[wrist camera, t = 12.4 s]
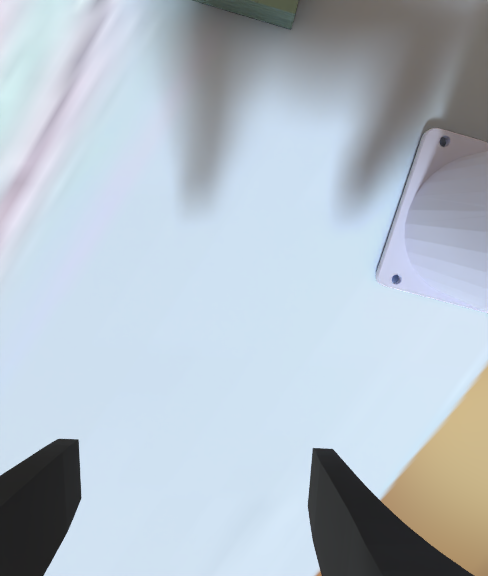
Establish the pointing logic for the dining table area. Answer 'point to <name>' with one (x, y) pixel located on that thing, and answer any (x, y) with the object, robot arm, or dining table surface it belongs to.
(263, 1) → the green slab
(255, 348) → the dining table surface
